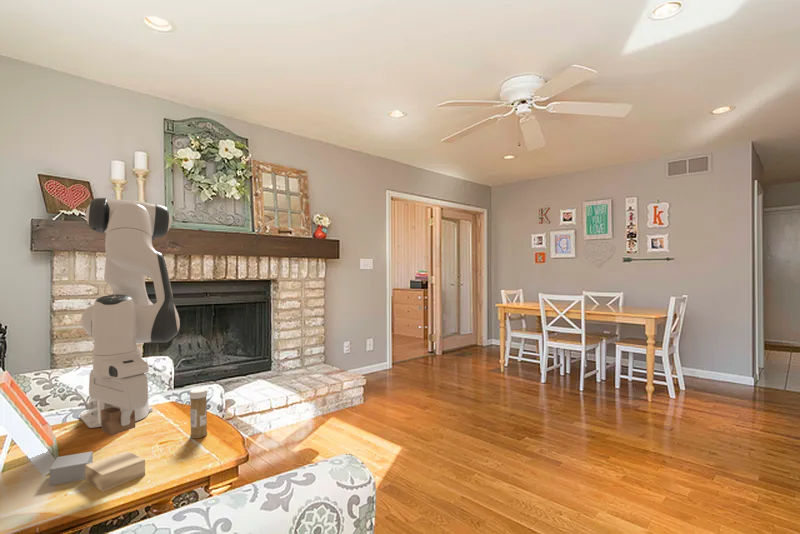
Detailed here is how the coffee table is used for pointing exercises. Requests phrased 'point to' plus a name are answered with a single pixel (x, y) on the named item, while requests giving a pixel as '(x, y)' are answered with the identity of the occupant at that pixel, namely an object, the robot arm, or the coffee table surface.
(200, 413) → the sprinkles bottle
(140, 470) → the oak block
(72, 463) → the grey block
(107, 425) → the walnut cube
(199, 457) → the coffee table surface
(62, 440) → the coffee table surface
